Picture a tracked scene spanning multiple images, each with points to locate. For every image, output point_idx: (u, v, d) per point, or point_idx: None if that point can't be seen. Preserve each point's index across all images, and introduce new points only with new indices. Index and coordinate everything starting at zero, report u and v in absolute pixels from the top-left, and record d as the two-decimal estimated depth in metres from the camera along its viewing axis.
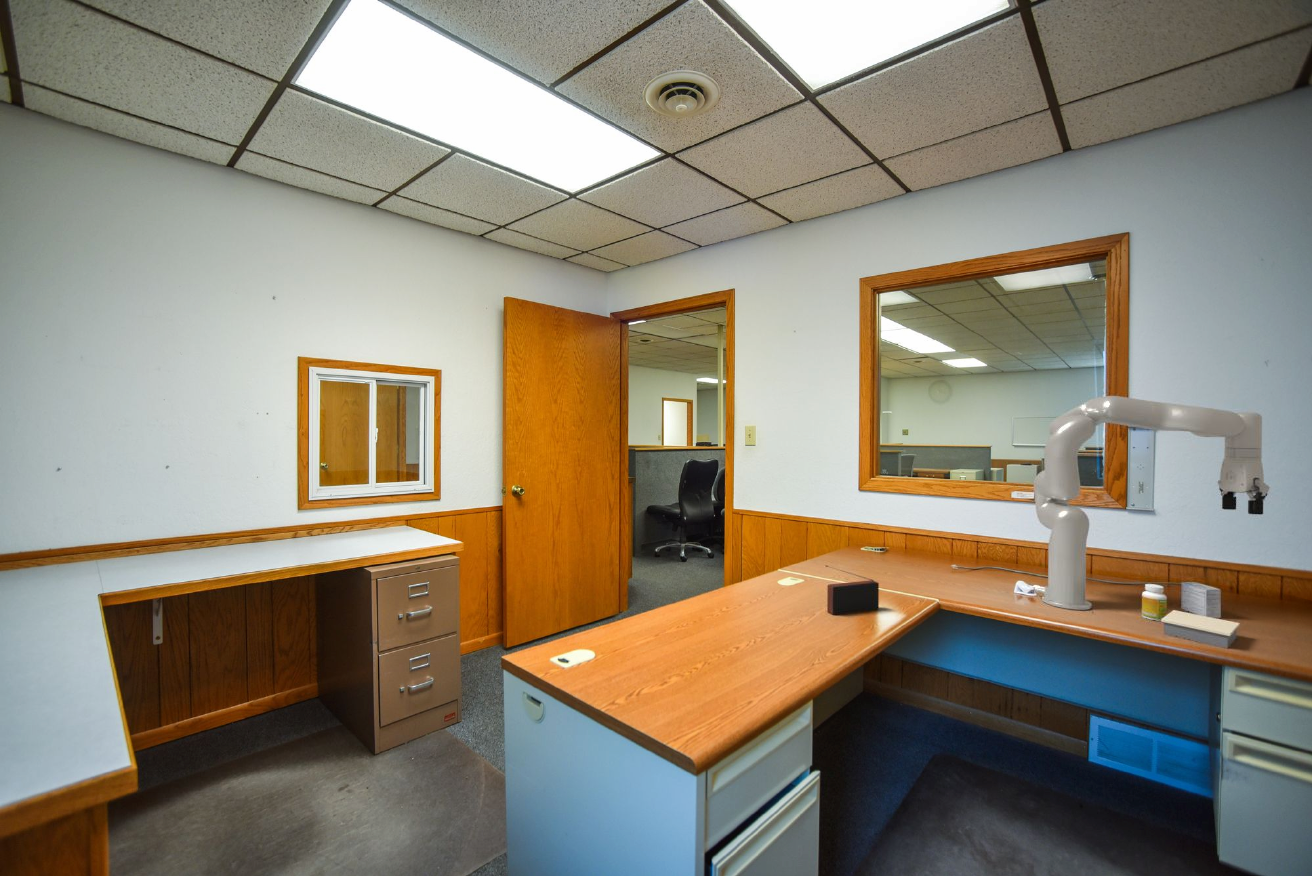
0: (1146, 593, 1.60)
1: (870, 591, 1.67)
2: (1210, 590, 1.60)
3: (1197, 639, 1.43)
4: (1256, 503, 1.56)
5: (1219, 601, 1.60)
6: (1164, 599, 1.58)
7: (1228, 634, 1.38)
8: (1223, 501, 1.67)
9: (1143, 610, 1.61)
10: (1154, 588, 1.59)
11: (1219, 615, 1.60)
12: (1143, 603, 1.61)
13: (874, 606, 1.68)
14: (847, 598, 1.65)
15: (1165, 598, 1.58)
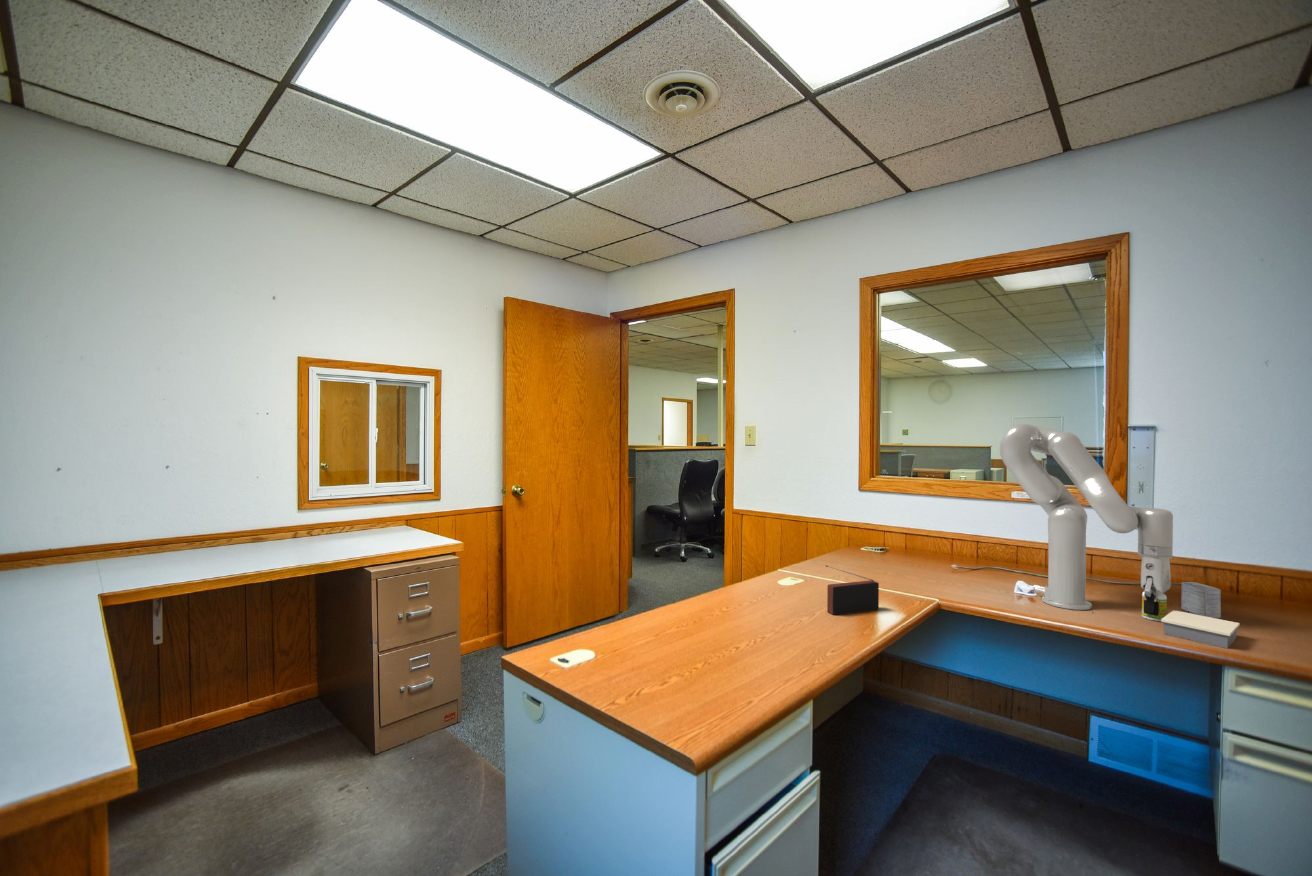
0: None
1: (870, 591, 1.67)
2: (1210, 590, 1.60)
3: (1197, 639, 1.43)
4: None
5: (1219, 601, 1.60)
6: (1164, 599, 1.58)
7: (1228, 634, 1.38)
8: None
9: (1143, 610, 1.61)
10: None
11: (1219, 615, 1.60)
12: (1143, 603, 1.61)
13: (874, 606, 1.68)
14: (847, 598, 1.65)
15: (1165, 598, 1.58)
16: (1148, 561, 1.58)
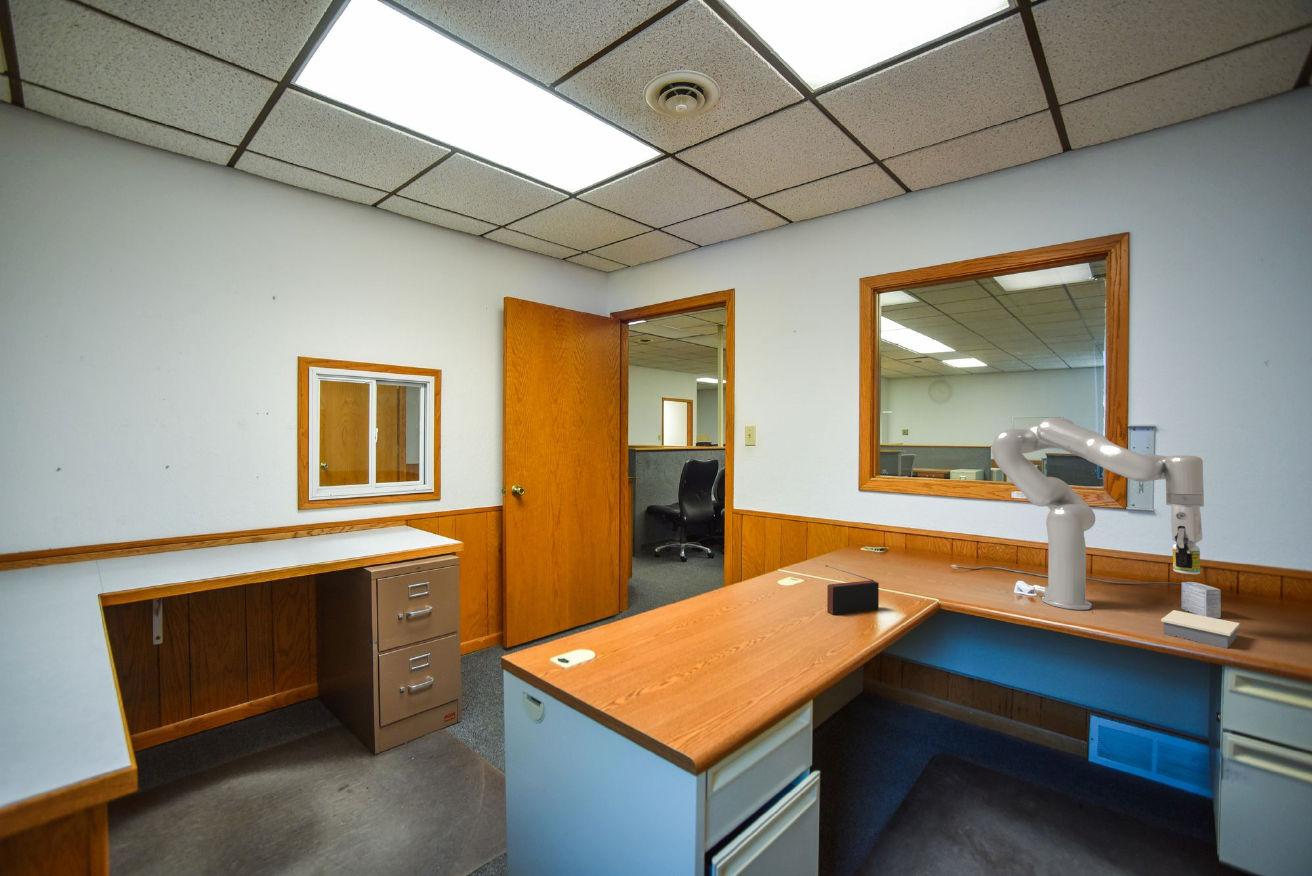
0: None
1: (870, 591, 1.67)
2: (1210, 590, 1.60)
3: (1197, 639, 1.43)
4: None
5: (1219, 601, 1.60)
6: (1198, 551, 1.48)
7: (1228, 634, 1.38)
8: (1191, 559, 1.48)
9: (1175, 564, 1.51)
10: None
11: (1219, 615, 1.60)
12: (1175, 556, 1.51)
13: (874, 606, 1.68)
14: (847, 598, 1.65)
15: (1198, 549, 1.49)
16: (1179, 510, 1.49)
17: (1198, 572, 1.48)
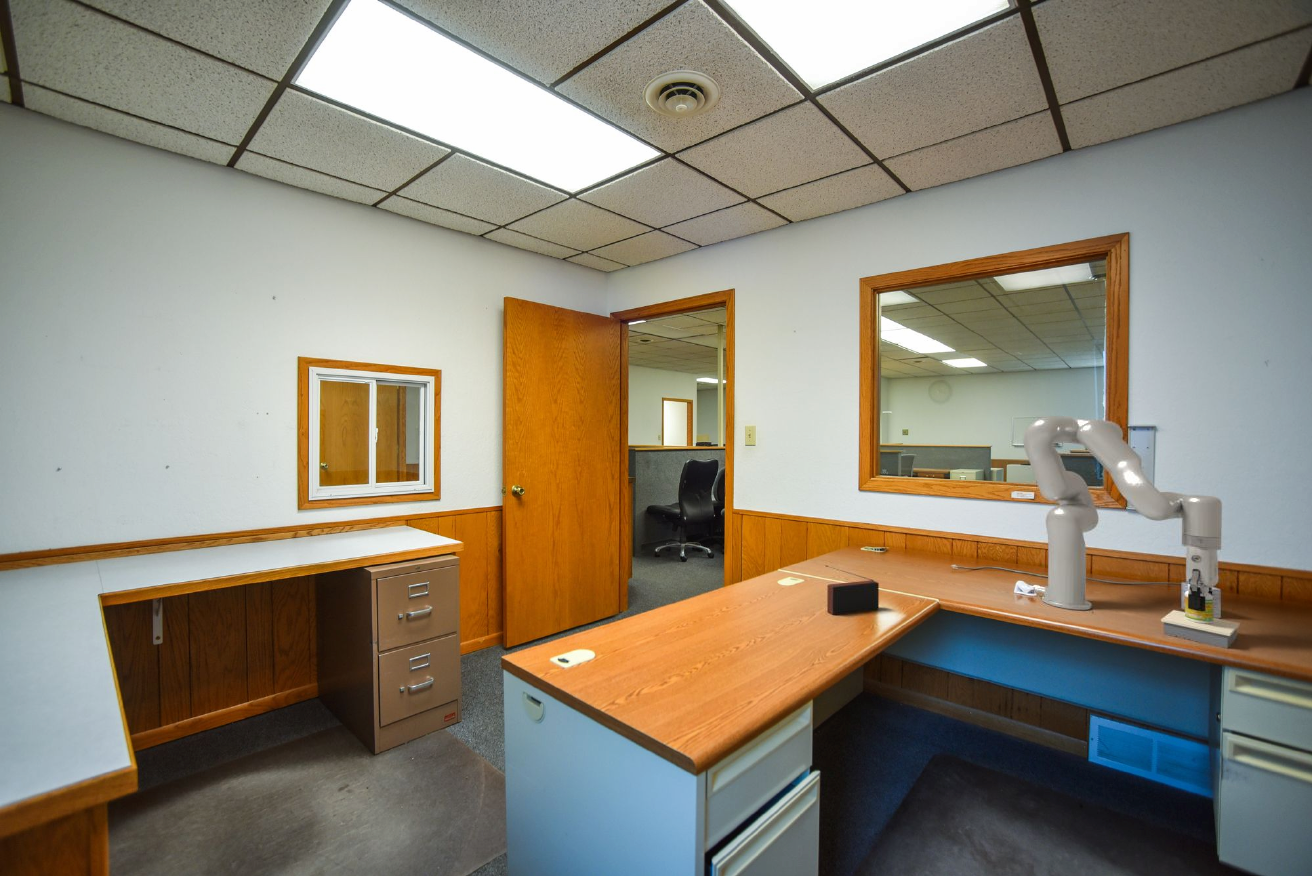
0: None
1: (870, 591, 1.67)
2: (1210, 590, 1.60)
3: (1197, 639, 1.43)
4: None
5: (1219, 601, 1.60)
6: (1210, 599, 1.44)
7: (1228, 634, 1.38)
8: (1204, 602, 1.43)
9: (1187, 611, 1.47)
10: None
11: (1219, 615, 1.60)
12: (1186, 604, 1.47)
13: (874, 606, 1.68)
14: (847, 598, 1.65)
15: (1211, 598, 1.44)
16: (1194, 553, 1.44)
17: (1211, 621, 1.44)
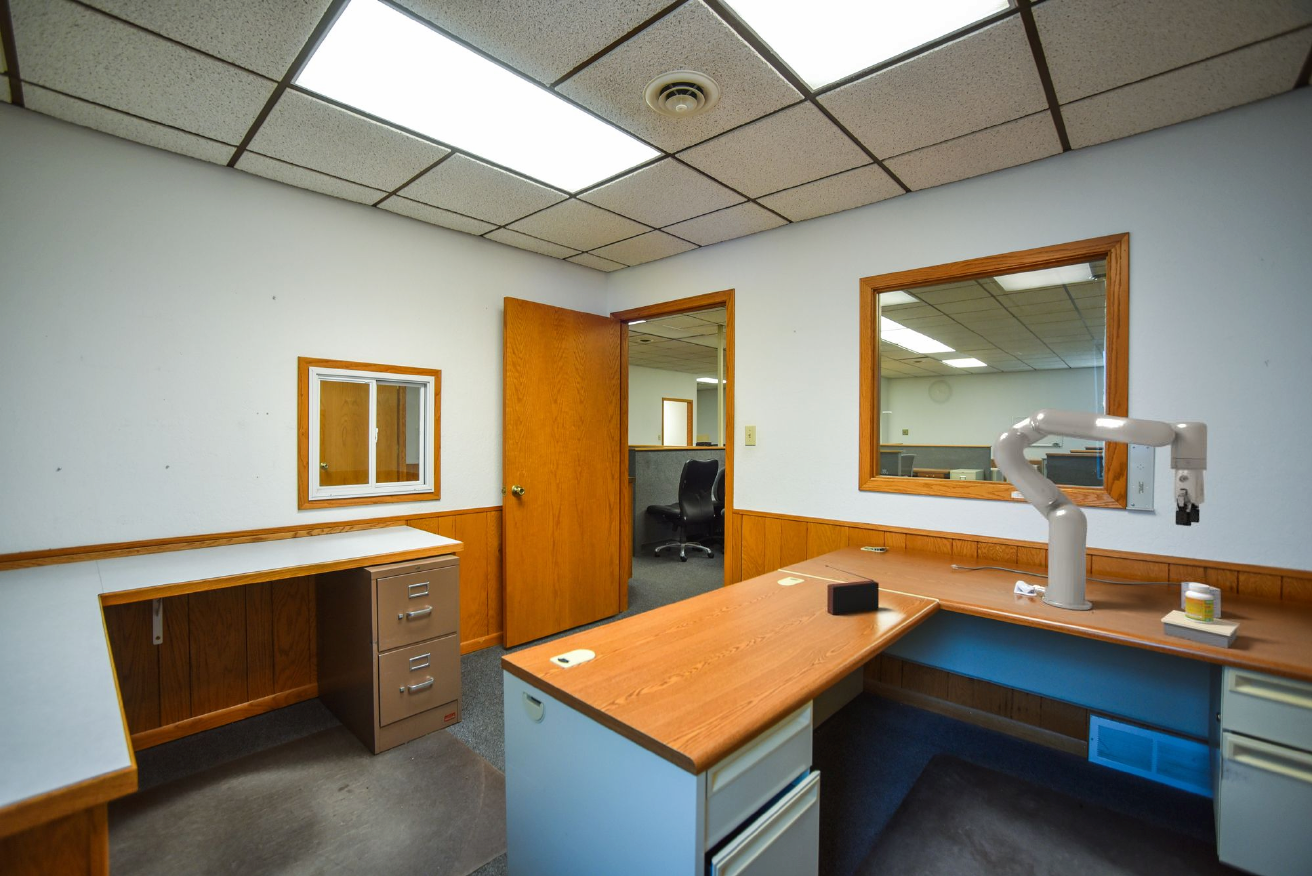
0: (1190, 593, 1.47)
1: (870, 591, 1.67)
2: (1210, 590, 1.60)
3: (1197, 639, 1.43)
4: None
5: (1219, 601, 1.60)
6: (1211, 600, 1.44)
7: (1228, 634, 1.38)
8: (1191, 517, 1.54)
9: (1187, 611, 1.47)
10: (1199, 587, 1.45)
11: (1219, 615, 1.60)
12: (1187, 604, 1.47)
13: (874, 606, 1.68)
14: (847, 598, 1.65)
15: (1212, 598, 1.44)
16: (1182, 474, 1.55)
17: (1211, 622, 1.44)
